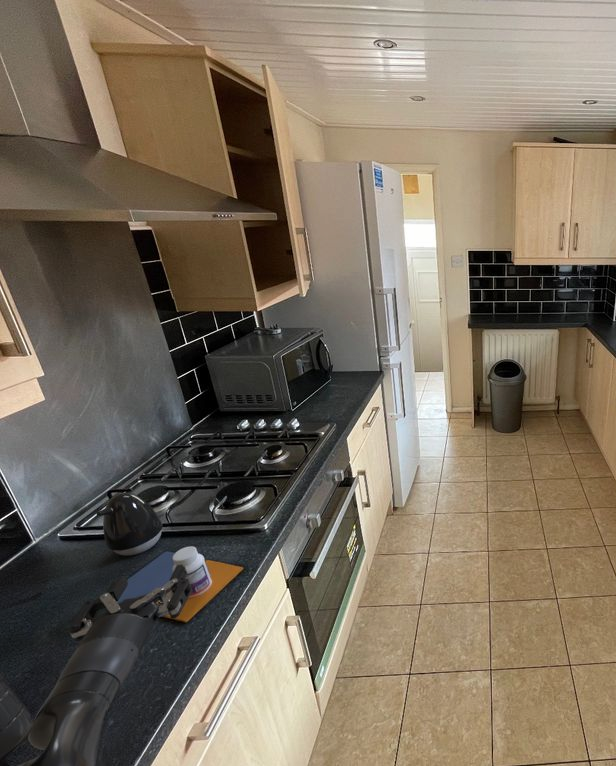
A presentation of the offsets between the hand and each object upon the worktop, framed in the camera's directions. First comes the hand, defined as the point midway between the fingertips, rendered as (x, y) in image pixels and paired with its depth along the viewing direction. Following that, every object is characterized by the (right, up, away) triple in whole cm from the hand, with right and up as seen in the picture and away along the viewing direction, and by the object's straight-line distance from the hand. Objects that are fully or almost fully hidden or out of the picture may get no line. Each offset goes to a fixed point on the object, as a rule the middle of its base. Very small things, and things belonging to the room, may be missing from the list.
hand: (153, 573), depth 74 cm
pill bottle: (-3, -10, +15) cm, 19 cm away
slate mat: (-15, -9, +18) cm, 25 cm away
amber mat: (-4, -10, +15) cm, 19 cm away
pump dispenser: (-26, -6, +27) cm, 38 cm away
